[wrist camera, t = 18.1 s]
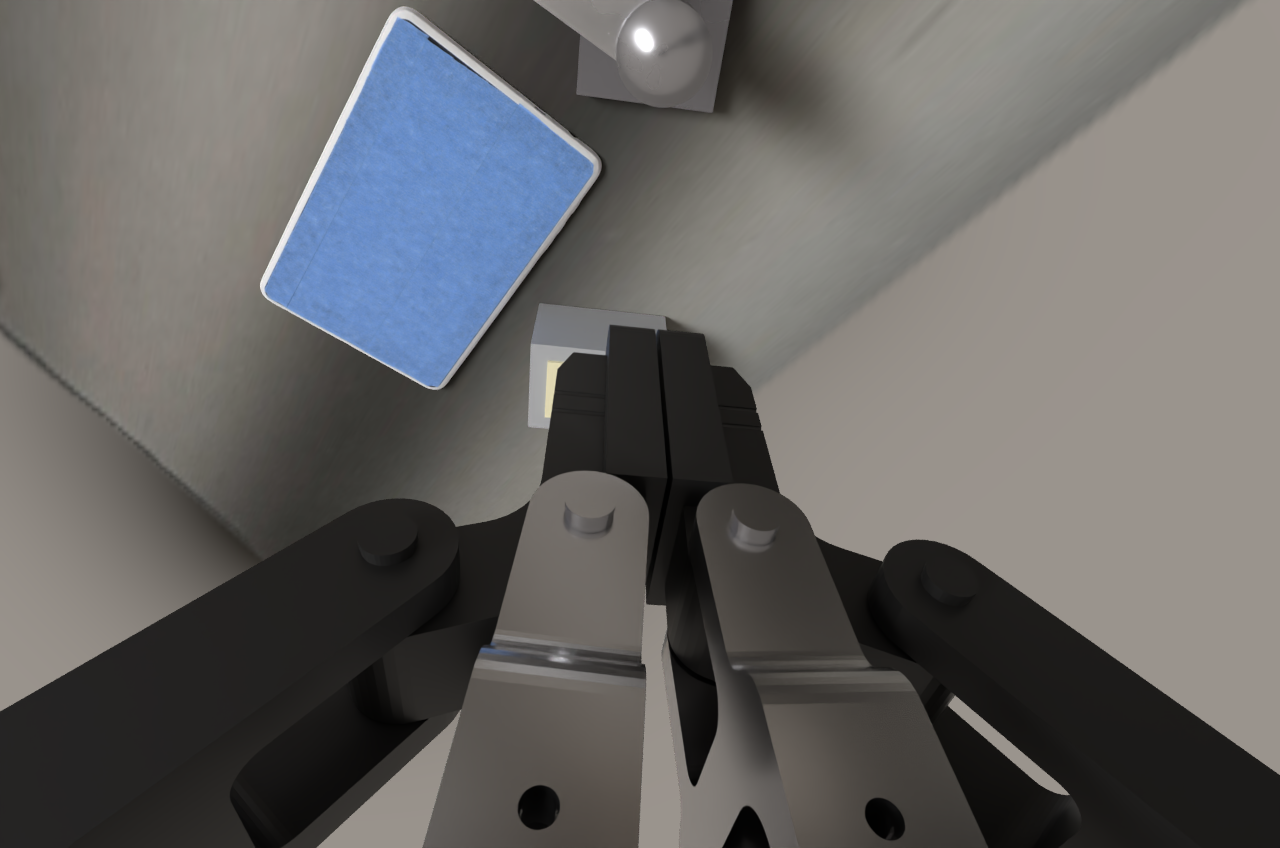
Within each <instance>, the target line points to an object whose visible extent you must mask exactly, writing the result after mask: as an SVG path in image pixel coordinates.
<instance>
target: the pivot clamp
mask: <svg viewBox="0 0 1280 848" xmlns="http://www.w3.org/2000/svg"><path fill="white" fill-rule="evenodd" d="M687 1H688V2H689V3H690V4H691V5H692V6H693V7H694V9H695V10H696V11H697V12H698V14H699V15H700V16H701V18H702V19H703V21H704V22H705V24H706V26H707V28H708V30H709V33H710V37H711V41H712V62H711V67H710V71H709V73H708V76H707V78H706V80H705V82H704V84H703V85H702V87H701V88H700V89H699V91H698V92H697V93H696V94H695V95H694V96H692V97H691V98H690V99H689V100H687V101H685V102H684V103H682V104H679V105H677V106H673V107H672V108H680V109H687V110H694V111H702V112H709V113H713V108H714V102H715V97H716V91H717V86H718V80H719V74H720V69H721V63H722V58H723V52H724V47H725V41H726V36H727V30H728V25H729V19H730V13H731V8H732V2H733V0H687ZM576 95H584V96H591V97H598V98H606V99H613V100H621V101H628V102H635V103H643V102H641V101H639V100H638V99H637V98H635V97H634V96H633V95H632V94H631V93H630V92H629V91H628V89H627V88H626V87H625V85H624V83H623V81H622V80H621V77H620V75H619V71H618V68H617V61H616V60H615V59H613V58H612V57H610V56H609V55H608V54H606V53H605V52H604V51H602V50H601V49H600V48H598V47H597V46H595V45H594V44H593V43H591V42H590V41H589V40H587V39H586V38H585V37H583V36H582V35H580V48H579V63H578V79H577V94H576ZM643 104H645V103H643Z"/></svg>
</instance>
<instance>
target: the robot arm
mask: <svg viewBox="0 0 1280 848" xmlns="http://www.w3.org/2000/svg"><path fill="white" fill-rule="evenodd" d="M756 409H757V408H756V404H755V401H754V397H753V394H752V390H751V387H750V386H749V385H748V384H747V383H746V381H745V380H744V379H743V378H742V377H741V376H740V375H739V374H738V373H737V372H736V370H735V369H734V368H731V367H721V366H711V365H710V362H709V357H708V351H707V346H706V341H705V337H704V334H700V333H690V332H680V331H671V330H661V329H658V330H657V333H655V329H650V328H640V327H630V326H621V325H611V324H610V325H609V330H608V337H607V346H606V354H605V355H598V354H588V353H578V352H573V353H572V354H571V355H570V356H569V357H568V358H567V359H566V361H565V362H564V363H563V364H562V365H561V366H560V367H559V368H558V369H557V376H556V383H555V390H554V397H553V404H552V412H551V418H550V425H549V432H548V439H547V447H546V454H545V461H544V468H543V475H542V480H541V484H540V487H539V488H538V489H537V490H536V491H535V493H534V494H533V495H532V498H531V500H530V501H529V502H528V503H527V504H525V505H524V506H523V507H521V508H520V509H518V510H517V511H515V512H513V513H511V514H509V515H507V516H504V517H501V518H498V519H495V520H491V521H487V522H482V523H476V524H470V525H464V526H459V527H455V524H454V523H453V521H452V520H451V519H450V517H449V516H448V515H447V514H445V513H444V512H443V511H442V510H440V509H439V508H437V507H435V506H433V505H431V504H428V503H426V502H422V501H418V500H412V499H386V500H379V501H375V502H371V503H368V504H365V505H362V506H359V507H357V508H355V509H353V510H351V511H349V512H347V513H345V514H344V515H342V516H340V517H338V518H337V519H335V520H333V521H331V522H330V523H328V524H326V525H325V526H323V527H321V528H319V529H318V530H316V531H314V532H312V533H311V534H309V535H307V536H305V537H304V538H302V539H300V540H298V541H297V542H295V543H293V544H291V545H290V546H288V547H286V548H284V549H283V550H281V551H279V552H277V553H276V554H274V555H272V556H271V557H269V558H267V559H265V560H264V561H262V562H260V563H258V564H257V565H255V566H253V567H251V568H250V569H248V570H246V571H244V572H243V573H241V574H239V575H237V576H236V577H234V578H232V579H231V580H229V581H227V582H225V583H223V584H222V585H220V586H218V587H216V588H215V589H213V590H211V591H210V592H208V593H206V594H205V595H203V596H201V597H199V598H197V599H196V600H194V601H192V602H190V603H189V604H187V605H185V606H183V607H182V608H180V609H178V610H176V611H175V612H173V613H171V614H169V615H168V616H166V617H164V618H162V619H161V620H159V621H157V622H156V623H154V624H152V625H150V626H149V627H147V628H145V629H144V630H142V631H140V632H138V633H137V634H135V635H133V636H131V637H129V638H128V639H126V640H124V641H122V642H121V643H119V644H117V645H115V646H114V647H112V648H110V649H109V650H107V651H105V652H103V653H101V654H100V655H98V656H97V657H95V658H93V659H91V660H89V661H88V662H86V663H84V664H83V665H81V666H79V667H77V668H75V669H74V670H72V671H70V672H68V673H67V674H65V675H63V676H61V677H60V678H58V679H56V680H54V681H53V682H51V683H49V684H47V685H46V686H44V687H42V688H41V689H39V690H37V691H35V692H34V693H32V694H30V695H28V696H27V697H25V698H23V699H21V700H20V701H18V702H16V703H14V704H13V705H11V706H9V707H7V708H6V709H4V710H2V711H0V848H316V847H317V846H319V845H320V844H321V843H322V842H323V841H324V840H325V839H326V838H327V837H328V836H329V835H330V834H331V833H333V832H334V831H335V830H336V829H337V828H338V827H339V826H340V825H341V824H342V823H343V822H344V821H345V820H347V819H348V818H349V817H350V816H351V815H352V814H353V813H354V812H355V811H356V810H357V809H358V808H360V806H361V805H363V804H364V803H365V802H366V801H367V800H368V799H369V798H370V797H371V796H373V795H374V794H375V793H376V792H377V791H378V790H379V789H380V788H381V787H382V786H383V785H384V784H386V782H388V781H389V780H390V779H391V778H392V777H393V776H394V775H395V774H396V773H397V772H398V771H400V770H401V769H402V768H403V767H404V766H405V765H406V764H407V763H408V762H409V761H410V760H411V759H413V758H414V757H415V756H416V755H417V754H418V753H419V752H420V751H421V750H422V749H423V748H424V747H425V746H427V745H428V744H429V743H430V742H431V741H432V740H433V739H434V738H435V737H436V736H437V735H438V734H440V733H441V731H443V730H444V729H445V728H446V727H447V726H448V725H449V724H450V723H451V722H452V721H453V720H454V718H455V717H456V715H457V714H458V712H459V711H460V710H461V709H462V710H461V713H460V717H459V720H458V724H457V727H456V731H455V735H454V738H453V742H452V745H451V749H450V752H449V756H448V759H447V763H446V766H445V770H444V773H443V777H442V780H441V784H440V788H439V791H438V795H437V798H436V802H435V805H434V808H433V812H432V816H431V819H430V823H429V826H428V830H427V834H426V837H425V840H424V844H423V847H422V848H638V843H639V823H640V803H641V783H642V762H643V742H644V721H645V700H646V668H645V664H642V663H641V651H642V632H643V615H644V598H645V585H646V603H647V604H649V605H650V604H651V605H666V613H667V631H666V635H665V639H664V643H663V647H662V665H663V672H664V680H665V687H666V694H667V701H668V709H669V716H670V723H671V730H672V737H673V745H674V752H675V760H676V766H677V774H678V781H679V789H680V801H681V821H680V833H679V848H1280V775H1279V774H1277V773H1276V772H1274V771H1273V770H1272V769H1270V768H1269V767H1268V766H1266V765H1265V764H1263V763H1262V762H1260V761H1259V760H1258V759H1256V758H1255V757H1253V756H1252V755H1251V754H1249V753H1248V752H1246V751H1245V750H1244V749H1242V748H1241V747H1239V746H1238V745H1236V744H1235V743H1234V742H1232V741H1231V740H1229V739H1228V738H1227V737H1225V736H1224V735H1222V734H1221V733H1219V732H1218V731H1217V730H1215V729H1214V728H1212V727H1211V726H1209V725H1208V724H1207V723H1205V722H1204V721H1202V720H1201V719H1200V718H1198V717H1197V716H1195V715H1194V714H1193V713H1191V712H1190V711H1188V710H1187V709H1186V708H1184V707H1183V706H1181V705H1180V704H1179V703H1177V702H1176V701H1174V700H1173V699H1171V698H1170V697H1169V696H1167V695H1166V694H1164V693H1163V692H1162V691H1160V690H1159V689H1157V688H1156V687H1154V686H1153V685H1152V684H1150V683H1149V682H1147V681H1146V680H1144V679H1143V678H1142V677H1140V676H1139V675H1138V674H1136V673H1135V672H1133V671H1132V670H1131V669H1129V668H1128V667H1126V666H1125V665H1123V664H1122V663H1120V662H1119V661H1118V660H1116V659H1115V658H1113V657H1112V656H1111V655H1109V654H1108V653H1106V652H1105V651H1104V650H1102V649H1100V648H1099V647H1098V646H1097V645H1095V644H1094V643H1092V642H1091V641H1090V640H1088V639H1087V638H1085V637H1084V636H1082V635H1081V634H1080V633H1078V632H1077V631H1075V630H1074V629H1072V628H1071V627H1070V626H1068V625H1067V624H1066V623H1064V622H1063V621H1061V620H1060V619H1058V618H1057V617H1056V616H1054V615H1053V614H1051V613H1050V612H1049V611H1047V610H1046V609H1044V608H1043V607H1041V606H1040V605H1039V604H1037V603H1036V602H1034V601H1033V600H1032V599H1030V598H1029V597H1027V596H1026V595H1025V594H1023V593H1022V592H1020V591H1019V590H1017V589H1016V588H1014V587H1013V586H1012V585H1010V584H1009V583H1008V582H1006V581H1005V580H1003V579H1002V578H1001V577H999V576H998V575H996V574H995V573H993V572H992V571H990V570H989V569H988V568H986V567H985V566H984V565H982V564H981V563H979V562H978V561H976V560H975V559H973V558H972V557H970V556H969V555H967V554H966V553H963V552H962V551H960V550H958V549H955V548H953V547H951V546H948V545H945V544H942V543H938V542H935V541H928V540H909V541H905V542H901V543H899V544H897V545H895V546H893V547H892V549H890V550H889V551H888V553H887V555H886V556H885V558H884V560H883V562H882V561H879V560H876V559H873V558H870V557H867V556H864V555H861V554H858V553H855V552H852V551H848V550H845V549H842V548H839V547H837V546H834V545H832V544H829V543H827V542H825V541H823V540H821V539H819V538H817V537H816V536H815V535H814V533H813V530H812V528H811V525H810V523H809V521H808V519H807V517H806V516H805V515H804V513H803V512H802V511H801V510H800V509H799V508H798V507H797V506H796V505H795V504H794V503H793V502H792V501H790V500H789V499H788V498H786V497H784V496H783V495H781V494H780V492H779V488H778V485H777V481H776V478H775V474H774V470H773V466H772V463H771V459H770V455H769V452H768V448H767V444H766V441H765V437H764V434H763V431H761V423H760V420H759V415H758V413H756ZM955 695H956V696H957V697H958V698H959V699H960V700H961V701H963V702H964V703H965V704H966V705H967V706H969V707H970V708H971V709H972V710H973V711H974V712H976V713H977V714H978V715H979V716H980V717H982V718H983V719H984V720H985V721H986V722H987V723H988V724H990V725H991V726H992V727H993V728H994V729H996V730H997V731H998V732H999V733H1000V734H1001V735H1003V736H1004V737H1005V738H1006V739H1007V740H1008V741H1010V742H1011V743H1012V744H1013V745H1014V746H1016V747H1017V748H1018V749H1019V750H1020V751H1021V752H1023V753H1024V754H1025V755H1026V756H1028V758H1030V759H1031V760H1032V761H1033V762H1034V763H1036V764H1037V765H1038V766H1039V767H1040V768H1042V769H1043V770H1044V771H1045V772H1046V773H1047V774H1048V775H1050V776H1051V777H1052V778H1053V779H1054V780H1056V781H1057V782H1058V783H1059V784H1060V785H1061V786H1062V787H1063V788H1064V789H1065V790H1066V791H1067V792H1068V793H1069V794H1070V795H1061V794H1057V793H1054V792H1051V791H1049V790H1047V789H1045V788H1044V787H1042V786H1040V785H1039V784H1038V783H1036V782H1035V781H1034V780H1033V779H1032V778H1030V777H1029V776H1028V775H1027V774H1026V773H1025V772H1023V771H1022V770H1021V769H1020V768H1019V767H1018V766H1016V765H1015V764H1014V763H1013V762H1012V761H1011V760H1010V759H1008V758H1007V757H1006V756H1005V755H1003V753H1001V752H1000V751H999V750H998V749H997V748H996V747H995V746H993V745H992V744H991V743H990V742H988V741H987V740H986V739H985V738H984V737H983V736H982V735H981V734H980V733H978V732H977V731H976V730H975V729H974V728H972V727H971V726H970V725H969V724H968V723H967V722H966V721H965V720H963V719H962V718H961V717H960V716H959V715H958V714H956V713H955V712H954V711H953V710H952V709H951V708H950V707H948V704H949V703H950V701H951V700H952V699H953V698H954V696H955Z"/></svg>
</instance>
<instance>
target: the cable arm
mask: <svg viewBox="0 0 1280 848" xmlns="http://www.w3.org/2000/svg"><path fill="white" fill-rule="evenodd" d="M534 1H535V2H537V3H538V4H540V5H541V6H542V7H544V8H545V9H546V10H548V11H549V12H550V13H552V14H553V15H555V16H556V17H557V18H559V19H560V20H561V21H563V22H564V23H565V24H567V25H568V26H570V27H571V28H572V29H574V30H575V31H576V32H578V33H579V34H580V35H582V36H583V37H585V38H586V39H587V40H589V41H590V42H591V43H593V44H594V45H595V46H597V47H598V48H600V49H601V50H602V51H604V52H605V53H606V54H608V55H609V56H610V57H612V58H613V59H615V60H616V61H617V68H618V71H619V75H620V77H621V80H622V81H623V83H624V85H625V87H626V88H627V89H628V91H629V92H630V93H631V94H632V95H633V96H634V97H635V98H637V99H638V100H639V101H641V102H643V103H645V104H647V105H650V106H653V107H659V108H667V107H673V106H677V105H679V104H682V103H684V102H685V101H687V100H689V99H690V98H691V97H692V96H694V95H695V94H696V93H697V92H698V91H699V89H700V88H701V87H702V85H703V84H704V82H705V80H706V78H707V76H708V73H709V71H710V67H711V62H712V41H711V37H710V33H709V30H708V28H707V26H706V24H705V22H704V21H703V19H702V18H701V16H700V15H699V14H698V12H697V11H696V10H695V9H694V7H693V6H692V5H691V4H690V3H689V2H688V1H687V0H534Z"/></svg>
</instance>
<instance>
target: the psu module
mask: <svg viewBox="0 0 1280 848" xmlns="http://www.w3.org/2000/svg"><path fill="white" fill-rule="evenodd" d="M610 324H611V325H621V326H630V327H640V328H650V329H655V333H657V330H658V329H661V330H667V329H666V319H665V316H657V315H648V314H638V313H629V312H619V311H610V310H600V309H590V308H581V307H571V306H562V305H552V304H543V303H539V308H538V313H537V317H536V322H535V327H534V332H533V336H532V341H531V356H530V384H529V413H528V427H536V428H548V429H549V425H550V418H551V412H552V404H553V397H554V390H555V383H556V376H557V369H558V368H559V367H560V366H561V365H562V364H563V363H564V362H565V361H566V359H567V358H568V357H569V356H570V355H571V354H572V353H573V352H578V353H588V354H598V355H605V354H606V346H607V337H608V330H609V325H610Z"/></svg>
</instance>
